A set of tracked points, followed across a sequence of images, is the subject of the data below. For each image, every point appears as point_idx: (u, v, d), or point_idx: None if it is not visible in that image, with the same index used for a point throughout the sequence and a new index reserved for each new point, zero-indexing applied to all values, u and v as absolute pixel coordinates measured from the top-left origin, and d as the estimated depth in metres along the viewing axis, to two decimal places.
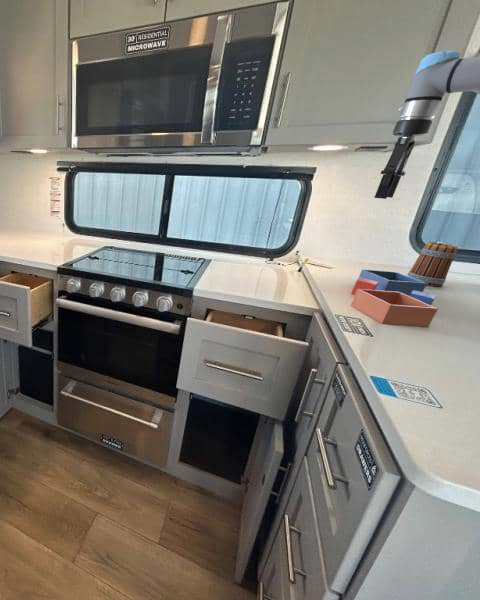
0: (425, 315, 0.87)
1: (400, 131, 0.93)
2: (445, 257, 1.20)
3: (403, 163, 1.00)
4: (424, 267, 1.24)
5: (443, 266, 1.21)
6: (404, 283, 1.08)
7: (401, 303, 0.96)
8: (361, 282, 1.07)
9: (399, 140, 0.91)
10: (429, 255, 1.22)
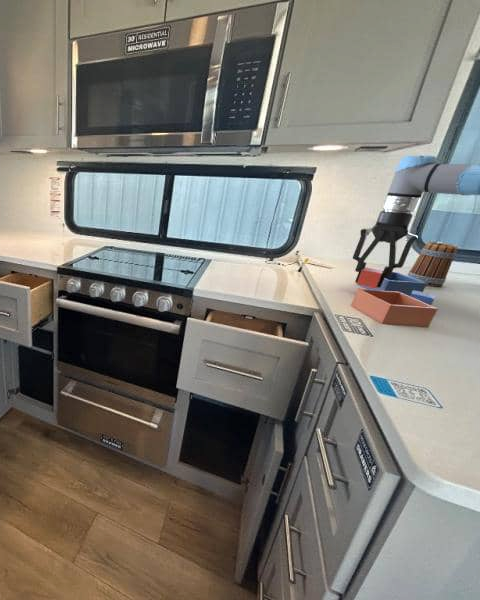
0: (425, 315, 0.87)
1: (406, 224, 0.97)
2: (445, 257, 1.20)
3: None
4: (424, 267, 1.24)
5: (443, 266, 1.21)
6: (404, 283, 1.08)
7: (401, 303, 0.96)
8: (367, 271, 1.05)
9: None
10: (429, 255, 1.22)
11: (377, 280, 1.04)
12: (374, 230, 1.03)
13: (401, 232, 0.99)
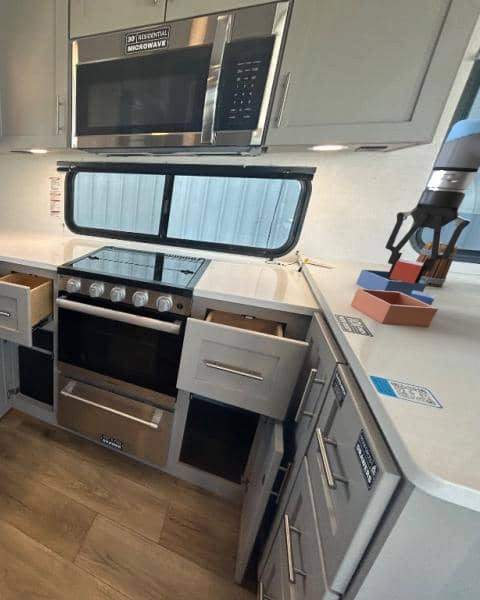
0: (425, 315, 0.87)
1: (457, 205, 0.79)
2: None
3: None
4: None
5: (443, 266, 1.21)
6: (404, 283, 1.08)
7: (401, 303, 0.96)
8: (403, 263, 0.88)
9: None
10: (429, 255, 1.22)
11: (416, 274, 0.86)
12: (414, 213, 0.85)
13: (449, 216, 0.81)
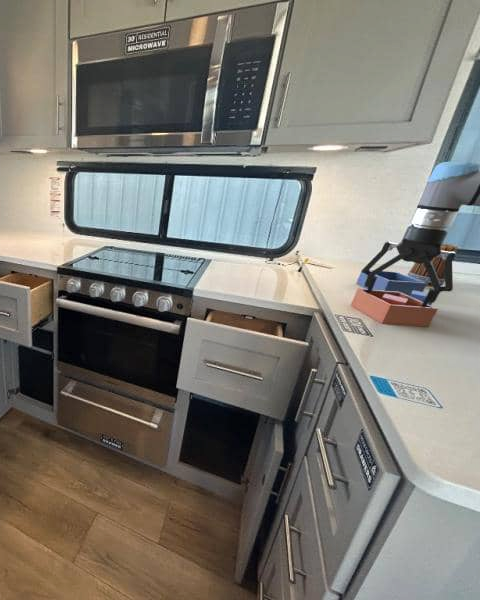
0: (425, 315, 0.87)
1: (440, 242, 0.82)
2: None
3: None
4: (424, 267, 1.24)
5: (443, 266, 1.21)
6: (404, 283, 1.08)
7: None
8: (388, 300, 0.91)
9: None
10: None
11: None
12: (400, 248, 0.88)
13: (433, 252, 0.84)
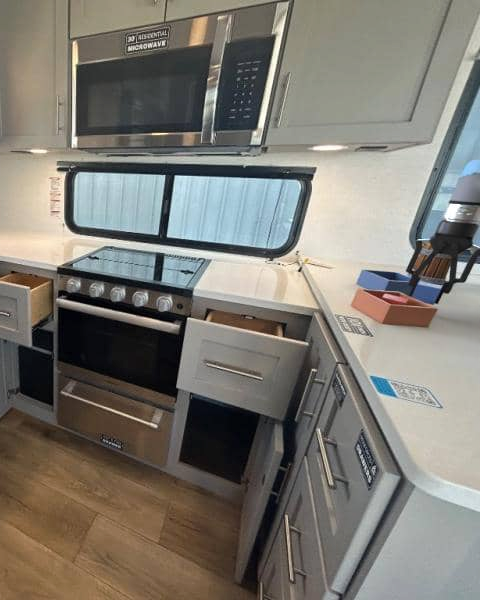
0: (425, 315, 0.87)
1: (472, 235, 0.88)
2: (445, 257, 1.20)
3: None
4: None
5: (443, 266, 1.21)
6: (404, 283, 1.08)
7: None
8: (388, 300, 0.91)
9: None
10: None
11: None
12: (432, 241, 0.94)
13: (465, 244, 0.89)
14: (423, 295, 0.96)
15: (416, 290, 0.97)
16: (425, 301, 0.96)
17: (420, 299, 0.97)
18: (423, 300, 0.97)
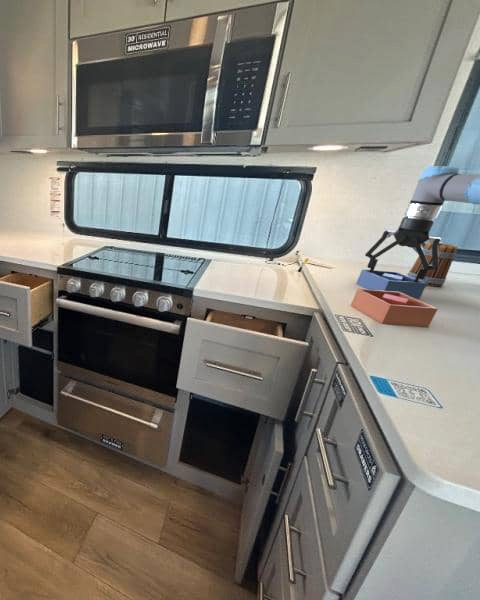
0: (425, 315, 0.87)
1: (428, 230, 1.03)
2: (445, 257, 1.20)
3: None
4: None
5: (443, 266, 1.21)
6: (404, 283, 1.08)
7: None
8: (388, 300, 0.91)
9: (439, 241, 1.03)
10: (429, 255, 1.22)
11: None
12: (396, 235, 1.09)
13: (422, 238, 1.05)
14: None
15: None
16: None
17: None
18: None
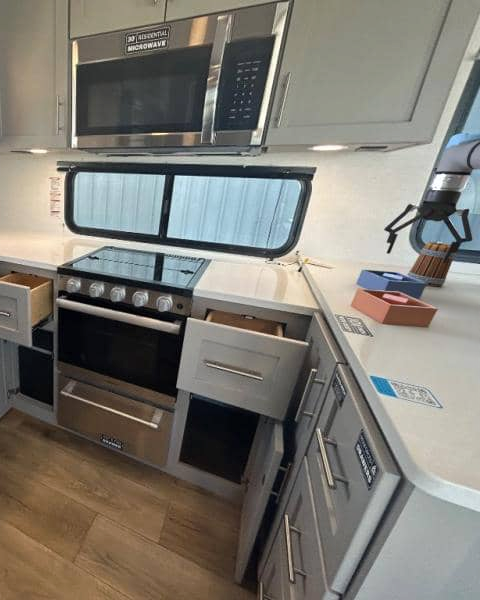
0: (425, 315, 0.87)
1: (455, 202, 0.98)
2: None
3: None
4: (424, 267, 1.24)
5: (443, 266, 1.21)
6: (404, 283, 1.08)
7: None
8: (388, 300, 0.91)
9: (468, 212, 0.98)
10: (429, 255, 1.22)
11: None
12: (421, 209, 1.04)
13: (449, 210, 1.00)
14: None
15: None
16: None
17: None
18: None
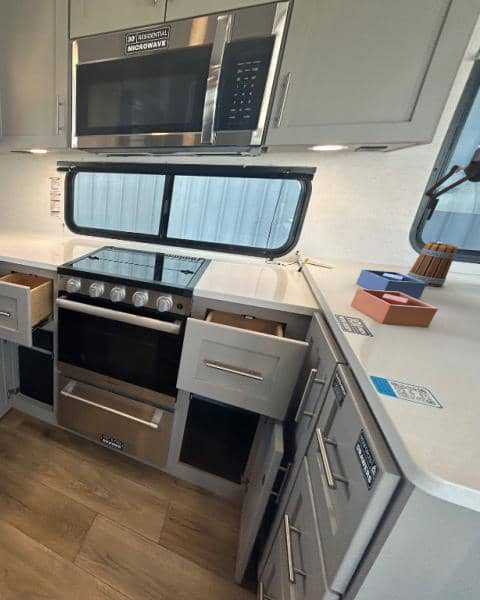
0: (425, 315, 0.87)
1: None
2: (445, 257, 1.20)
3: None
4: (424, 267, 1.24)
5: (443, 266, 1.21)
6: (404, 283, 1.08)
7: None
8: (388, 300, 0.91)
9: None
10: (429, 255, 1.22)
11: None
12: (467, 170, 0.97)
13: None
14: None
15: None
16: None
17: None
18: None
